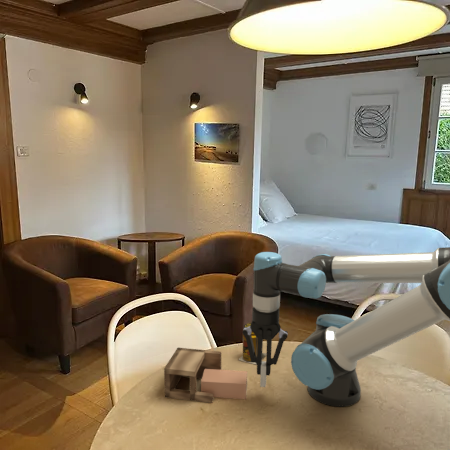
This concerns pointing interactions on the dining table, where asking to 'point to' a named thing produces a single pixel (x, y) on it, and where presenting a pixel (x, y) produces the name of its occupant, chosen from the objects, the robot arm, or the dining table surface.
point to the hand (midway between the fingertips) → (263, 384)
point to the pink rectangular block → (225, 383)
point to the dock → (189, 372)
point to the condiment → (245, 348)
